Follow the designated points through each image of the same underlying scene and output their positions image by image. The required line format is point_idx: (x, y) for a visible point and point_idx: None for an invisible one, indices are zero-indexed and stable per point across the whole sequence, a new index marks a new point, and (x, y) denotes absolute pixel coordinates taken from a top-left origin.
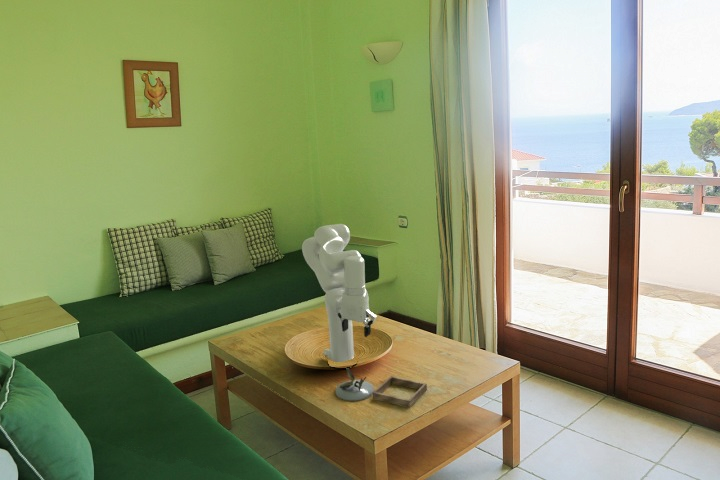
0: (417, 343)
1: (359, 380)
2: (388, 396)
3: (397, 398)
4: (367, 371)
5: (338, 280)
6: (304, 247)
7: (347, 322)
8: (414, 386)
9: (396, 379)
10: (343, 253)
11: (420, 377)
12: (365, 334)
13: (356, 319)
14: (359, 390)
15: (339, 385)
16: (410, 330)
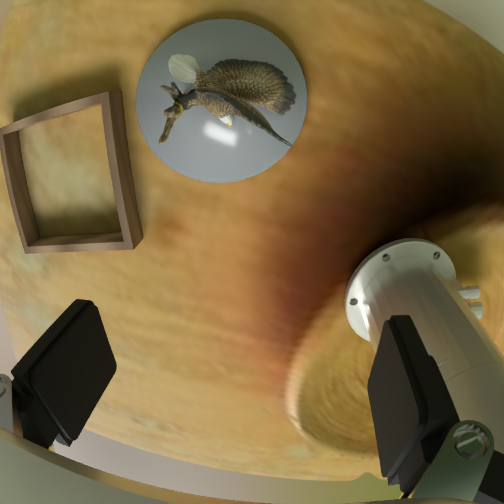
0: (238, 446)
1: (245, 175)
2: (51, 108)
3: (26, 117)
4: (275, 273)
5: None
6: None
7: (383, 443)
8: (59, 238)
9: (108, 240)
10: None
11: (95, 304)
12: (63, 313)
13: (4, 479)
14: (185, 93)
15: (300, 92)
16: (292, 474)
